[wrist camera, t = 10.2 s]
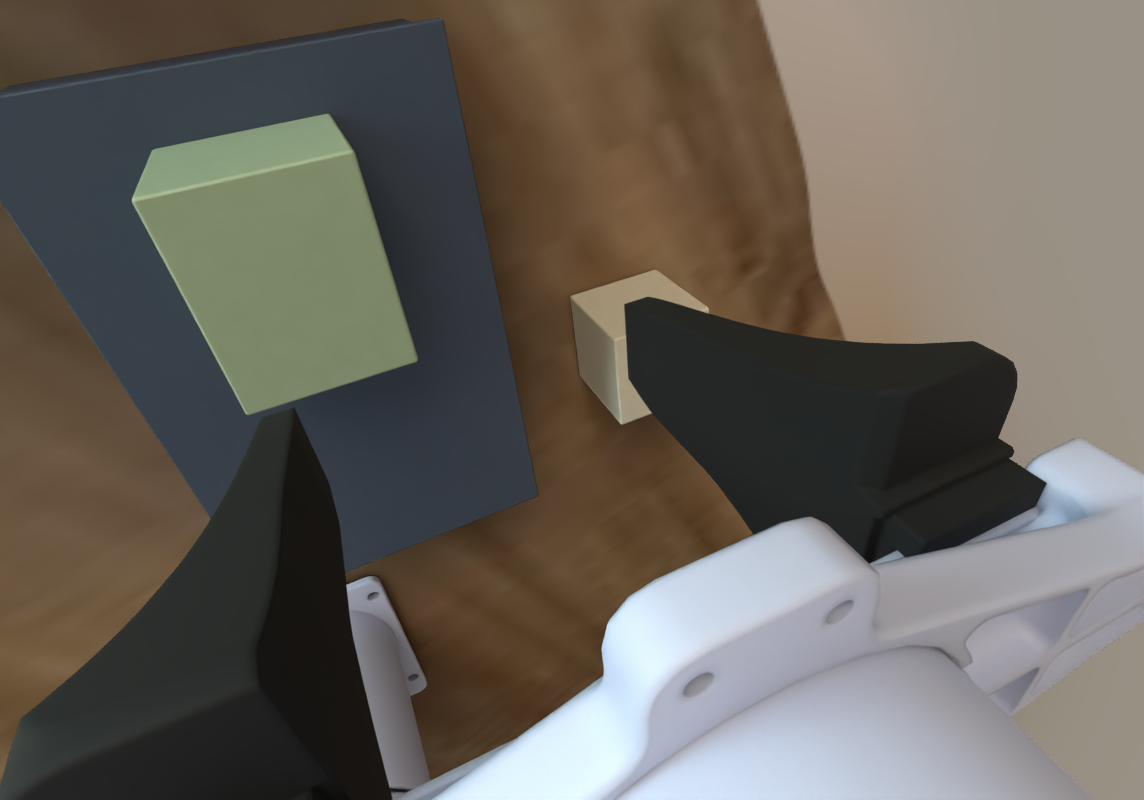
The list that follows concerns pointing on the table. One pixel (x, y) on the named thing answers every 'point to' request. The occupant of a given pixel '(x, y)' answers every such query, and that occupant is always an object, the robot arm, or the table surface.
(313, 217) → the sage box
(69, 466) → the table surface
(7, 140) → the storage box
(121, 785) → the robot arm
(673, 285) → the cream box
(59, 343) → the table surface
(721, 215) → the table surface
